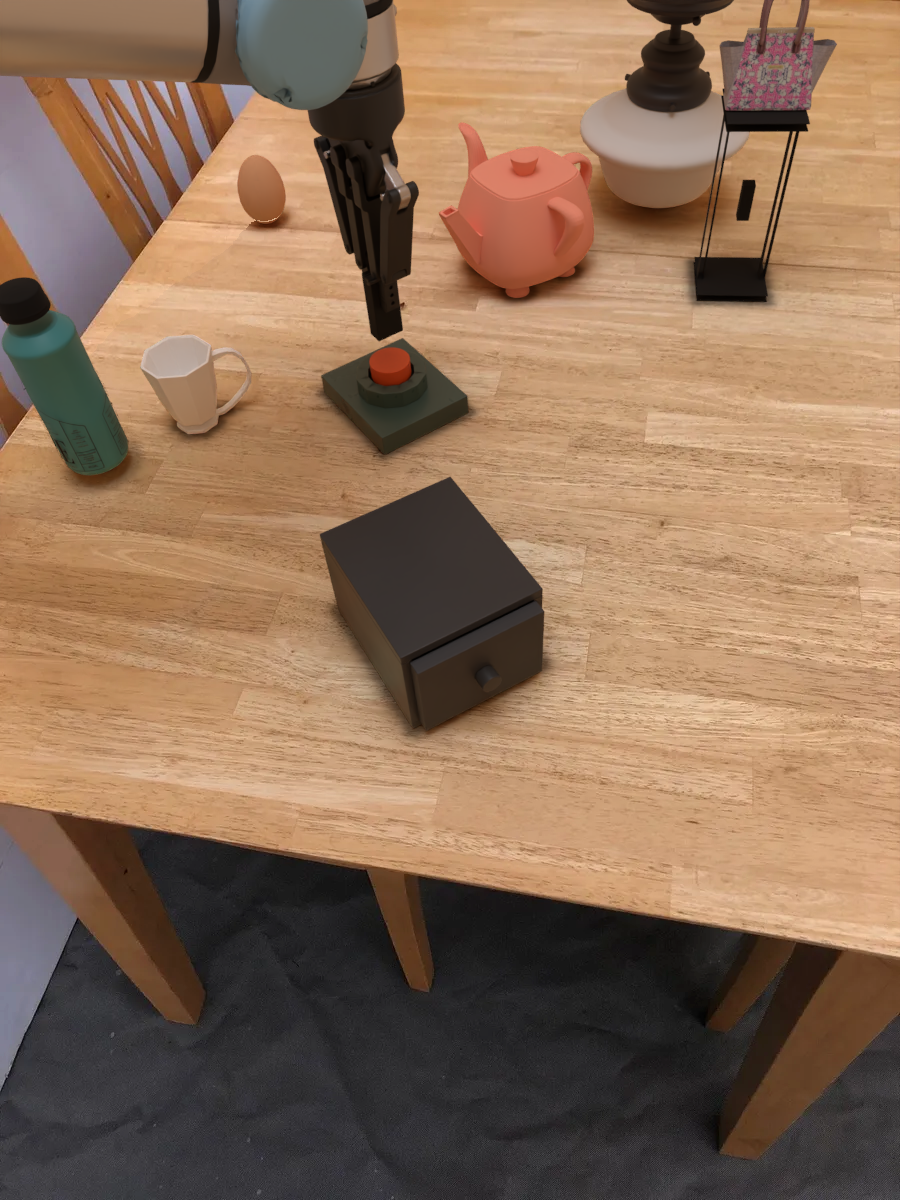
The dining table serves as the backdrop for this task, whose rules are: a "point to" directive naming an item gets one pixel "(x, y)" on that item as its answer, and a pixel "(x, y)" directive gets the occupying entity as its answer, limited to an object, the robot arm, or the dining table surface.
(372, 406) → the button block
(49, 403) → the beverage bottle
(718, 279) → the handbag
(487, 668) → the drawer
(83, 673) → the dining table surface
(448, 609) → the cabinet
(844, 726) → the dining table surface
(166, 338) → the cup
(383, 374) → the button
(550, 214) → the teapot
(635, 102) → the light fixture
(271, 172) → the egg
